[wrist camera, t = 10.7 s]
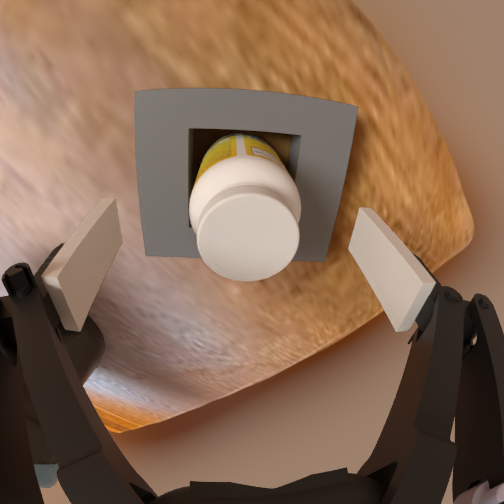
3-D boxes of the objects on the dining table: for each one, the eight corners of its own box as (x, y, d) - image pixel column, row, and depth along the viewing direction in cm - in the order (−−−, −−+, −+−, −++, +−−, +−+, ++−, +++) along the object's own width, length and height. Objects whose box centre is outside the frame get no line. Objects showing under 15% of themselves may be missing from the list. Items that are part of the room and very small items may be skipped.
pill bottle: (205, 206, 23) (190, 298, 14) (197, 135, 20) (167, 183, 11) (279, 202, 24) (310, 289, 14) (279, 130, 20) (320, 174, 11)
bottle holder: (316, 242, 26) (324, 261, 24) (153, 237, 25) (145, 256, 22) (342, 103, 19) (358, 106, 16) (147, 89, 17) (134, 91, 15)
